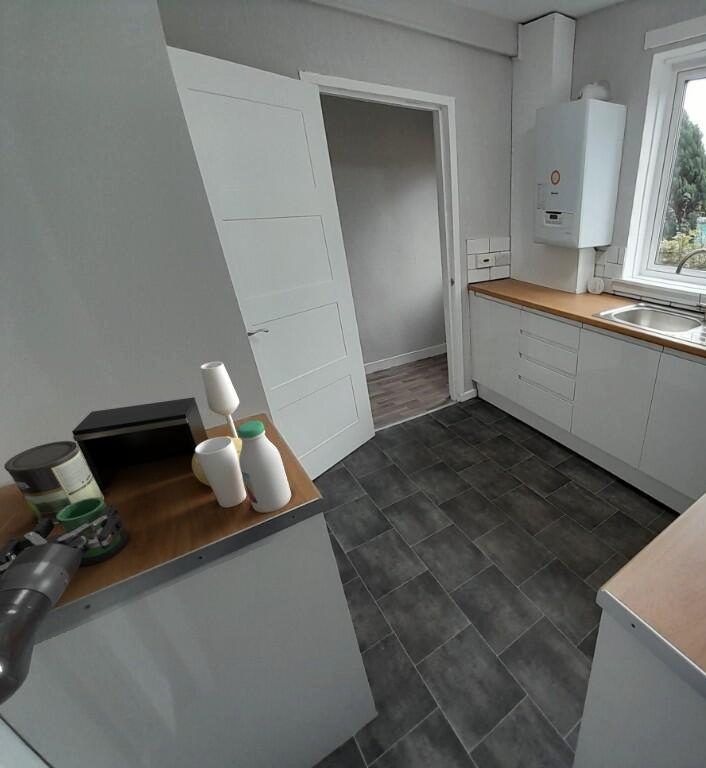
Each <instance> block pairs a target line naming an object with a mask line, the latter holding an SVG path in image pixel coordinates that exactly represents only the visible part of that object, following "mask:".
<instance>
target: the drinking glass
mask: <svg viewBox="0 0 706 768" xmlns="http://www.w3.org/2000/svg"><path fill="white" fill-rule="evenodd" d="M229 437H230V436H228V437H226V436H218V437H217V436H216V437H213V438H208V440H206V441H204V442H202V443H200V444H199V445H198V446H197V447H196V448H195V453H196V456H197V459H198V462H199V465H200V467H201V469H202V471H203V473H204V475H205V477H206V479H207V481H208V482H209V484H210V486H209V487H210V488H211V490H212V492H213V494H214V496H215V498H216V500H217V503H218V505H219V506H220V507H221V508H233V507H236V506H239V505H240V504H241V503H243V502H244V501H245V500H246V498H247V490H246V487H245V482H244V479H243V478H242V473H241V469H240V464H239V459H238V455H237V451H236V448H235V446H234V443H233V441H232V439H231V438H229Z"/></svg>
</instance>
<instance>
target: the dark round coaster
mask: <svg viewBox="0 0 706 768" xmlns="http://www.w3.org/2000/svg"><path fill="white" fill-rule="evenodd" d="M120 535H121V540H120V542H119V543H118V544H117V545H116V546H115V547H114V548H112V549H111V550H109V551H107V552H105V553H103V554H101V555H98V556H95V557H91V558H82V559H81V563H80V566H79V567H84V566H92V565H95V564H98V563H102V562H104V561H106V560H108V559H110V558H112V557H114V556H115V555H117V554H118V553H120V552H121V551H122V550H123V549H125V547H126V546H127V545H128V544H129V541H130V538H129V534H128V533H127V532H126V531H124V530H121V532H120Z"/></svg>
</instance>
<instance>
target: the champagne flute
mask: <svg viewBox="0 0 706 768" xmlns="http://www.w3.org/2000/svg"><path fill="white" fill-rule="evenodd" d="M199 368H200V371H201V378H202V382H203V386H204V391H205V395H206V401H207V404H208V405H207V406H208V408H209V410H210V411H211V412H213V413H215V414H217V415H220V416H222V417H223V416H224V417H225V419H226V421H227V422H226V423H227V425H228V428H229V431H230V434H231V437H232V438H239V435H238V432H237V431H236V427H235V423H234V421H233V418H232V414H233V413H234V412H235V411H236V410H237V409H238V407H239V406H240V405H239V404H240V399H239V396H238V394H237V391H236V389H235V387H234V385H233V383H232V381H231V378H230V375H229V374H228V371H227V369H226V366H225V365H224V362H223V361H211V362H206V363H203V364H202V365H200V367H199Z"/></svg>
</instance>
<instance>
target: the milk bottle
mask: <svg viewBox="0 0 706 768" xmlns="http://www.w3.org/2000/svg"><path fill="white" fill-rule="evenodd" d="M236 432H237V436H238V438H240V439H241V440H242V449H241V453H240V457H239V464H240V469H241V473H242V476H243V483H244V487H245V490H246V493H247V495H248V498H249V501H250V503H251V507H252V508H253V510H254V511H256V512H258V513H261V514H263V513H264V514H265V513H272V512H275V511H278V510H279V509H282V508H283V507H285V506H286V505H287V504H288V503H289V502H290V500H291V497H292V492H291V488H290V484H289V480H288V477H287V474H286V470H285V467H284V462H283V460H282V457H281V454H280V451H279V450H278V448H277V447H276V446H275V445H274V443H272V442H271V441H270V440H269V438H268V437H267V436H266V430H265V426H264V423H263V422H262V421H260V420H250V421H247V422H244V423H242V424H240V425H238V427H237V431H236Z"/></svg>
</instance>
